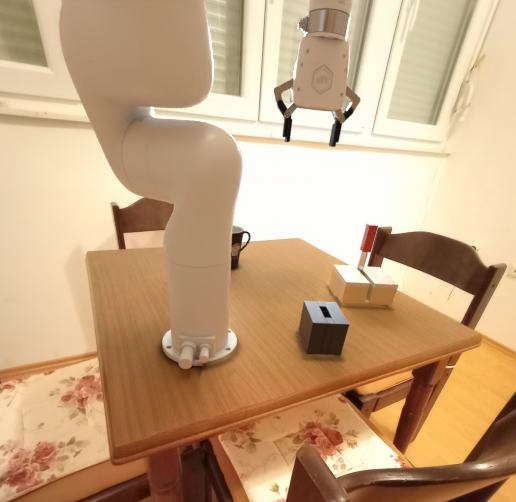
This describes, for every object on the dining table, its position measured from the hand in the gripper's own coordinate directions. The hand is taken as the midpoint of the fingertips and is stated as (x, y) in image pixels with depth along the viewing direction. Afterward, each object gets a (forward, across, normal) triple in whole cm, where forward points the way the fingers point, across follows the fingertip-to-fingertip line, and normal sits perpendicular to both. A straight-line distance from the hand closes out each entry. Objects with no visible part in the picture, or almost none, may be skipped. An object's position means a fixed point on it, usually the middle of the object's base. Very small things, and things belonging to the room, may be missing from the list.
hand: (309, 144), depth 65 cm
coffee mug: (+30, -15, +8) cm, 35 cm away
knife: (+29, +16, -6) cm, 33 cm away
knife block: (+30, +1, -31) cm, 43 cm away
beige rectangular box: (+30, +16, -9) cm, 35 cm away
